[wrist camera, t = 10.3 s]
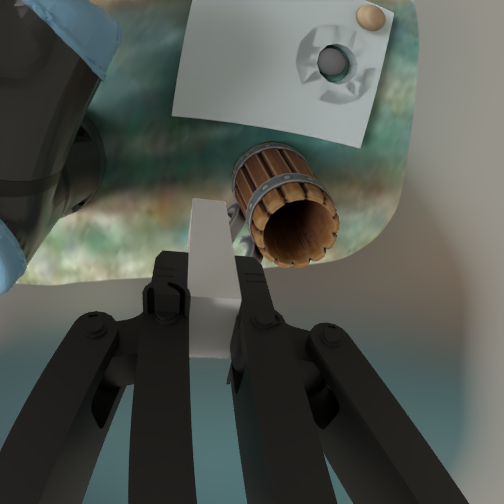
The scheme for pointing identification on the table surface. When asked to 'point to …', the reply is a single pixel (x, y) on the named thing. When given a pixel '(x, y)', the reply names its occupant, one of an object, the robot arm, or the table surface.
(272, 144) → the mug
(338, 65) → the ball
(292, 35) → the white slab
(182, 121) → the table surface
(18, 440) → the robot arm
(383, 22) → the cork ball
